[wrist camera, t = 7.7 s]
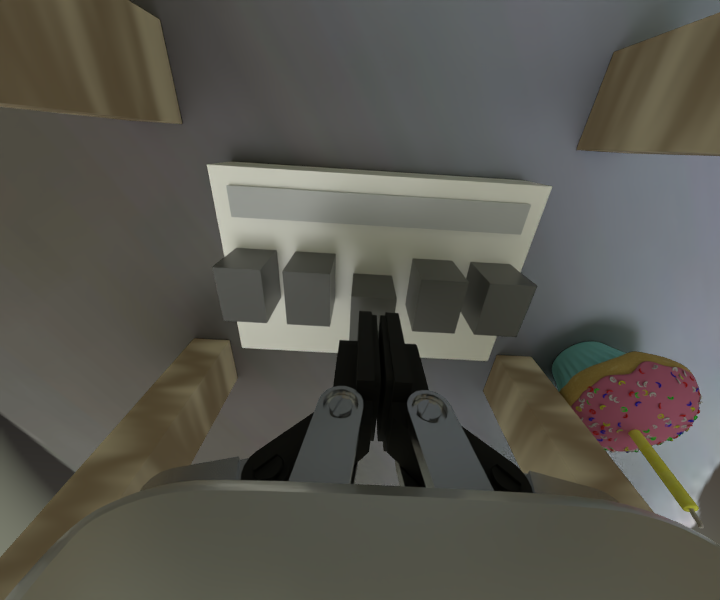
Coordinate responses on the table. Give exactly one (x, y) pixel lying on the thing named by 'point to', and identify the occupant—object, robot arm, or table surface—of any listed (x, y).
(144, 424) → the wooden post rack
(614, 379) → the cupcake
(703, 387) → the table surface
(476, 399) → the table surface
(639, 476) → the table surface
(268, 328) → the breaker panel
